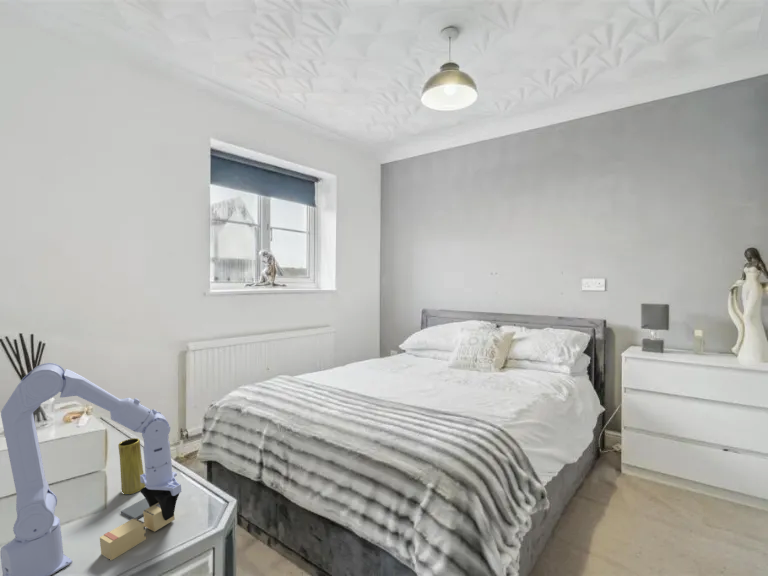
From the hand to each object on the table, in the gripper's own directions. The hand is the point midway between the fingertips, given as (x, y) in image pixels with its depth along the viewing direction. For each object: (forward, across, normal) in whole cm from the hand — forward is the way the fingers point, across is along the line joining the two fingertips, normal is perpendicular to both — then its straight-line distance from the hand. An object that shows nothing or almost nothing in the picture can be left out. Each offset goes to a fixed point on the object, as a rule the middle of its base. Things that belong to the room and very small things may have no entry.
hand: (163, 515), depth 98 cm
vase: (+2, +24, -5) cm, 25 cm away
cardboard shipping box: (+2, 0, +9) cm, 9 cm away
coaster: (+2, +12, -1) cm, 12 cm away
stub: (+1, 0, +1) cm, 2 cm away
